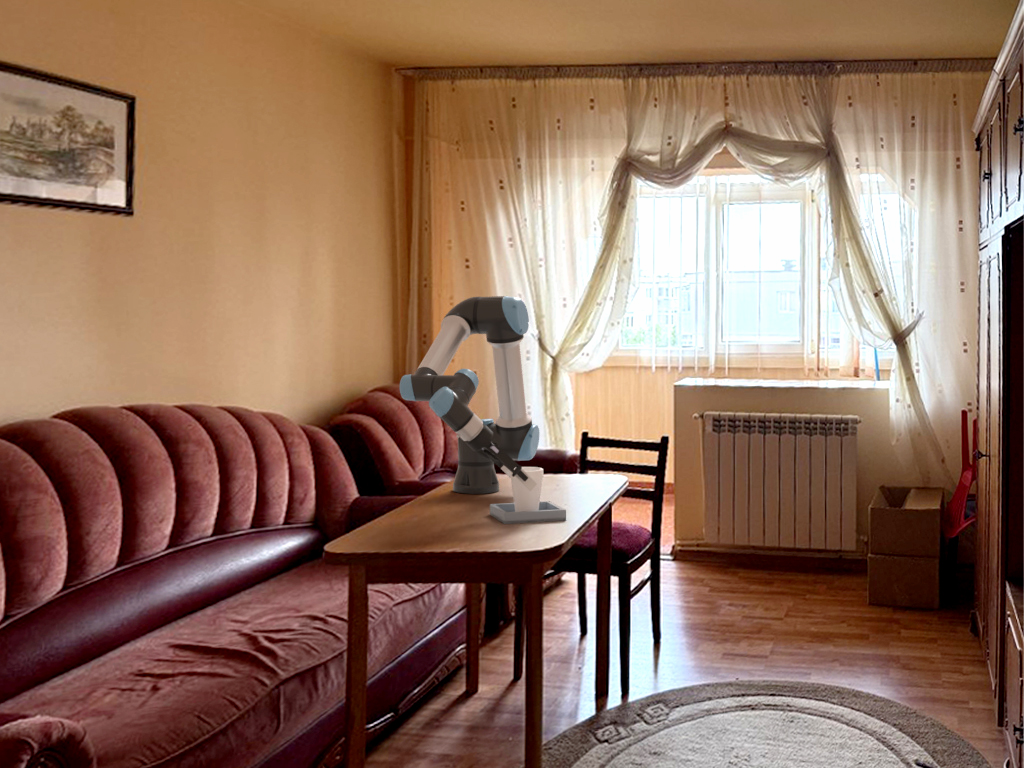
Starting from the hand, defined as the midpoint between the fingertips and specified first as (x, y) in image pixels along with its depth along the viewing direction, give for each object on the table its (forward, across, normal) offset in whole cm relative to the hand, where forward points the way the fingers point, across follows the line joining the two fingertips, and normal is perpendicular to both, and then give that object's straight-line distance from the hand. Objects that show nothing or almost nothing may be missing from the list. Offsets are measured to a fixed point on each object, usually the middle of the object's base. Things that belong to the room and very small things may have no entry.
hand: (526, 483), depth 322 cm
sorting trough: (+7, 0, -7) cm, 10 cm away
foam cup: (+7, 0, -6) cm, 9 cm away
